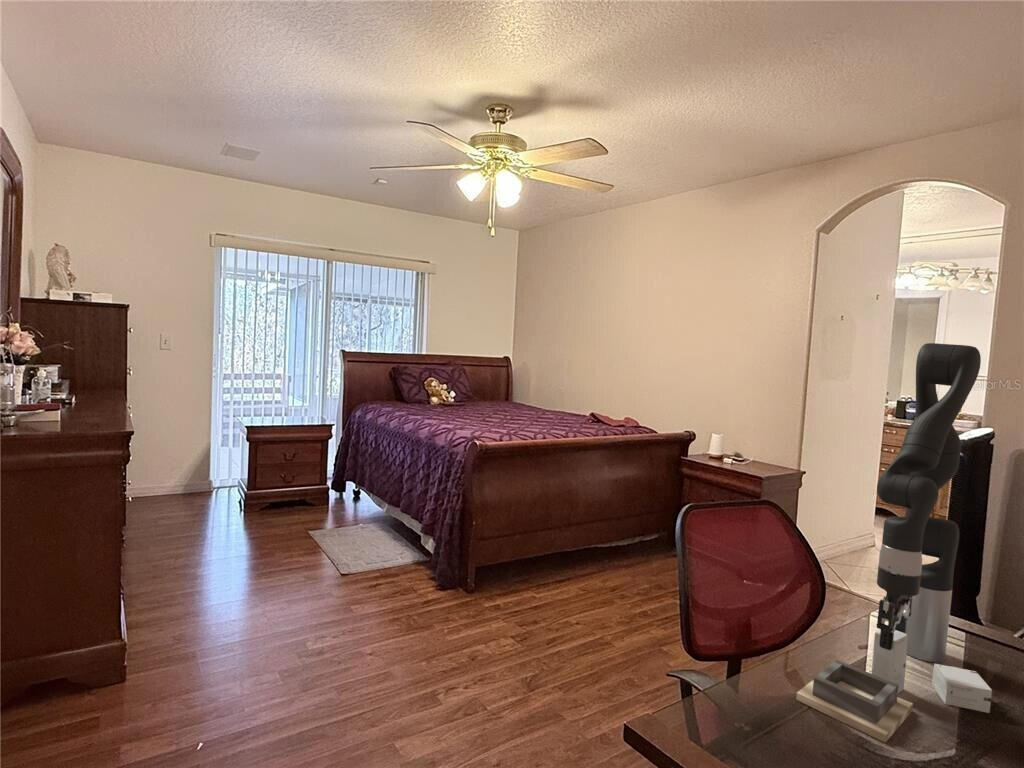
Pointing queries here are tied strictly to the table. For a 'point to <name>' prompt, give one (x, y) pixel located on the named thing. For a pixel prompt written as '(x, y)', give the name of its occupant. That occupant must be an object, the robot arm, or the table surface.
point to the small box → (961, 688)
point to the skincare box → (891, 659)
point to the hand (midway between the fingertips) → (892, 642)
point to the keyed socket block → (857, 699)
